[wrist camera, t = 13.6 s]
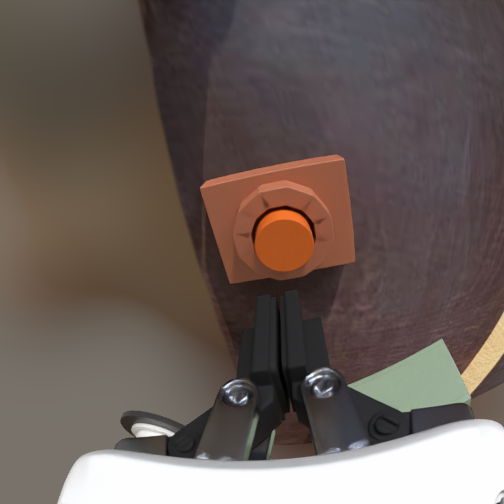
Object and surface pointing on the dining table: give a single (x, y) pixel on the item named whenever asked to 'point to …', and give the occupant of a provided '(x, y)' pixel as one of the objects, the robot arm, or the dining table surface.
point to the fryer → (417, 381)
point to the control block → (281, 197)
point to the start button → (284, 240)
